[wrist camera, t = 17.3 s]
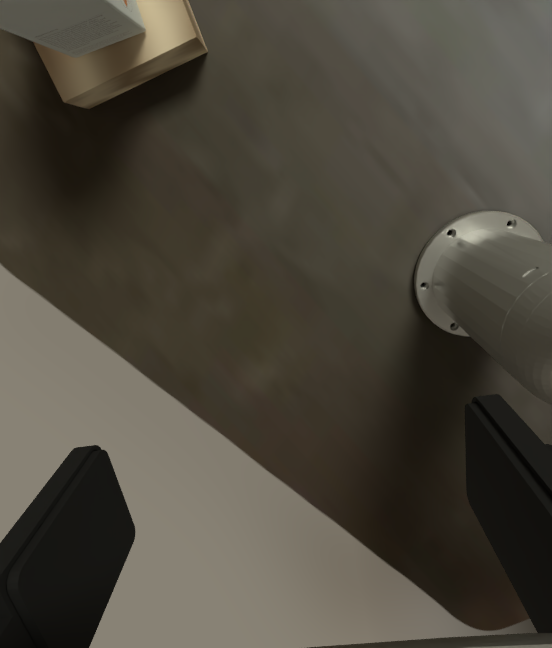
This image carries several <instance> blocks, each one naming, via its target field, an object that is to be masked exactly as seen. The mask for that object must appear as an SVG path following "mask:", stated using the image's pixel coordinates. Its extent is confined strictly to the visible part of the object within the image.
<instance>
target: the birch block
mask: <svg viewBox="0 0 552 648" xmlns="http://www.w3.org/2000/svg"><path fill="white" fill-rule="evenodd" d="M136 2H137V5H138V8H139V11H140V14H141V17H142V19H143V22H144V25H145V28H146V31H145V32H143V33H140V34H138V35H135V36H132V37H130V38H127V39H124V40H122V41H119V42H116V43H114V44H111V45H108V46H106V47H103V48H101V49H98V50H96V51H93V52H90V53H88V54H85V55H83V56H80V57H77V58H74V57H71V56H69V55H66V54H63V53H61V52H58V51H56V50H53V49H51V48H48V47H45V46H43V45H40V44H38V43H35V42H33V43H34V45H35V47H36V49H37V51H38V53H39V55H40V57H41V59H42V61H43V63H44V65H45V67H46V69H47V71H48V73H49V75H50V77H51V78H52V80H53V82H54V84H55V86H56V88H57V90H58V92H59V94H60V96H61V98H62V100H63V102H64V103H68V104H71V105H75V106H79V107H82V108H86V109H91V108H93V107H95V106H97V105H99V104H101V103H103V102H105V101H107V100H109V99H111V98H113V97H115V96H117V95H120V94H122V93H124V92H126V91H128V90H130V89H132V88H134V87H136V86H138V85H140V84H142V83H144V82H146V81H149V80H151V79H153V78H155V77H157V76H159V75H161V74H163V73H165V72H167V71H169V70H171V69H173V68H175V67H178V66H180V65H182V64H184V63H186V62H188V61H190V60H192V59H194V58H196V57H198V56H200V55H202V54H204V53H207V52H208V50H207V48H206V45H205V43H204V40H203V38H202V35H201V32H200V30H199V27H198V25H197V22H196V20H195V17H194V14H193V12H192V9H191V7H190V4H189V2H188V0H136Z"/></svg>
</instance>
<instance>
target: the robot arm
mask: <svg viewBox="0 0 552 648" xmlns="http://www.w3.org/2000/svg"><path fill="white" fill-rule="evenodd" d="M508 221H510V223H509V225H507V223H508ZM449 230H451V233H450V234H449V235H447V232H448V231H449ZM423 282H424V285H423V286H420V285H421V284H422V283H423ZM414 289H415V294H416V298H417V301H418V303H419V305H420V307H421V309H422V311H423V312H424V313H425V315H426V316H427V317H428V318H429V319H430V320H431V321H432V322H433V323H434V324H435V325H437V326H438V327H440V328H441V329H442V330H444V331H447V332H449V333H451V334H455V335H460V336H466V337H471V338H472V339H473V340H474V341H476V342H477V343H478V344H479V345H480V346H481V347H482V348H483V349H484V350H485V351H486V352H487V353H488V354H489V355H490V356H491V357H492V358H493V359H494V360H496V361H497V362H498V363H499V364H500V365H501V366H502V367H503V368H504V369H505V370H506V371H507V372H508V373H509V374H510V375H511V376H512V377H513V378H514V379H516V380H517V381H518V382H519V383H520V384H521V385H522V386H523V387H525V388H526V389H527V390H528V391H529V392H531V393H532V394H533V395H535V396H536V397H538V398H539V399H541V400H543V401H545V402H547V403H549V404H552V245H551V244H548V243H545V242H544V241H543V240H542V238H541V236H540V235H539V233H538V232H537V231H536V230H535V229H534V228H533V227H532V226H531V225H530V224H529V223H528V222H526V221H525V220H523V219H521V218H520V217H518V216H515V215H512V214H509V213H505V212H500V211H478V212H472V213H469V214H466V215H463V216H460V217H458V218H456V219H454V220H453V221H451V222H449V223H447V224H446V225H445V226H443V227H442V228H441V229H440V230H439V231H437V232H436V233H435V234H434V235H433V237H432V238H431V239H430V240H429V241H428V242H427V244H426V246H425V247H424V249H423V251H422V252H421V254H420V257H419V259H418V262H417V264H416V269H415V275H414ZM452 323H453V325H452V326H450V325H451V324H452ZM465 439H466V488H467V496H468V500H469V503H470V505H471V507H472V509H473V511H474V513H475V515H476V517H477V519H478V521H479V522H480V524H481V526H482V528H483V530H484V532H485V534H486V536H487V538H488V539H489V541H490V543H491V545H492V547H493V549H494V551H495V553H496V555H497V557H498V558H499V560H500V562H501V564H502V566H503V568H504V570H505V572H506V574H507V575H508V577H509V579H510V581H511V583H512V585H513V587H514V589H515V591H516V592H517V594H518V596H519V598H520V600H521V602H522V604H523V606H524V608H525V610H526V611H527V613H528V615H529V617H530V619H531V621H532V623H533V625H534V627H535V628H536V630H537V632H538V633H526V634H507V635H488V636H470V637H450V638H436V639H421V640H407V641H393V642H379V643H365V644H351V645H336V646H322V647H310V648H552V445H549V444H544V443H543V442H542V441H541V440H540V439H539V438H538V437H537V435H536V434H535V433H534V432H533V431H532V430H531V429H530V428H529V427H528V426H527V424H526V423H525V422H524V421H523V420H522V419H521V418H520V417H519V416H518V415H517V414H516V412H515V411H514V410H513V409H512V408H511V407H510V406H509V405H508V404H507V403H506V401H505V400H504V399H503V398H502V397H501V396H500V395H498V394H495V395H487V396H479V397H474V398H473V399H472V403H471V404H466V406H465ZM134 538H135V526H134V523H133V521H132V518H131V515H130V513H129V510H128V507H127V504H126V502H125V499H124V496H123V493H122V491H121V488H120V485H119V483H118V480H117V477H116V475H115V472H114V469H113V466H112V464H111V461H110V458H109V456H108V453H107V452H106V451H105V450H101V448H100V447H99V446H97V445H94V446H86V447H78V448H74V449H73V450H72V451H71V452H70V454H69V455H68V456H67V458H66V459H65V460H64V461H63V463H62V464H61V465H60V467H59V468H58V469H57V470H56V472H55V473H54V475H53V476H52V477H51V478H50V480H49V481H48V482H47V483H46V485H45V486H44V487H43V489H42V490H41V491H40V492H39V494H38V495H37V496H36V498H35V499H34V500H33V502H32V503H31V504H30V505H29V507H28V508H27V509H26V511H25V512H24V513H23V514H22V516H21V517H20V518H19V520H18V521H17V522H16V523H15V525H14V526H13V527H12V529H11V530H10V531H9V533H8V534H7V535H6V536H5V538H4V539H3V540H2V542H1V543H0V648H89V646H90V644H91V642H92V639H93V637H94V634H95V632H96V630H97V627H98V625H99V622H100V620H101V618H102V615H103V613H104V611H105V608H106V606H107V604H108V601H109V599H110V597H111V594H112V592H113V589H114V587H115V585H116V582H117V580H118V578H119V575H120V573H121V570H122V568H123V566H124V563H125V561H126V559H127V556H128V554H129V551H130V549H131V547H132V544H133V542H134Z"/></svg>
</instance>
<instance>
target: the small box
mask: <svg viewBox="0 0 552 648" xmlns="http://www.w3.org/2000/svg"><path fill="white" fill-rule="evenodd" d="M0 29H3V30H5V31H8V32H10V33H13V34H15V35H18V36H20V37H23V38H25V39H28V40H30V41H33V42H35V43H38V44H40V45H43V46H45V47H48V48H51V49H53V50H56V51H58V52H61V53H63V54H66V55H69V56H71V57H74V58H77V57H80V56H83V55H85V54H88V53H90V52H93V51H96V50H98V49H101V48H103V47H106V46H108V45H111V44H114V43H116V42H119V41H122V40H124V39H127V38H130V37H132V36H135V35H138V34H140V33H143V32H145V31H146V28H145V25H144V22H143V19H142V17H141V14H140V11H139V8H138V5H137V2H136V0H0Z"/></svg>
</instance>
